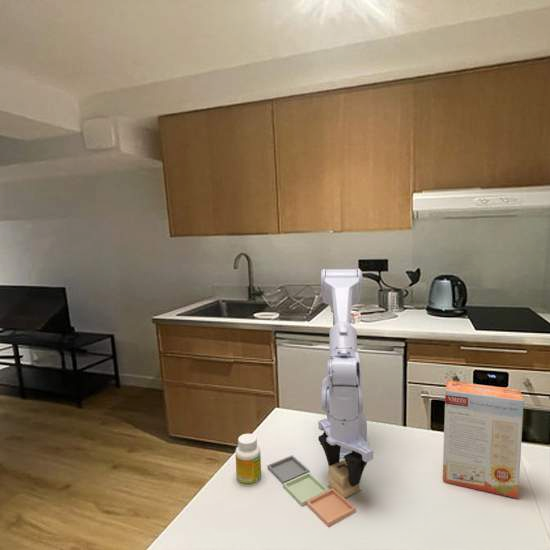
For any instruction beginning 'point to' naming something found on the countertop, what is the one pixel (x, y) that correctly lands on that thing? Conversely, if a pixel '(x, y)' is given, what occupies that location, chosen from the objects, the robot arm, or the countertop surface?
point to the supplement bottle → (248, 461)
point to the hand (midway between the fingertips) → (344, 475)
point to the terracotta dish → (331, 507)
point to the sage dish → (304, 488)
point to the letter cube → (341, 479)
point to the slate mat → (350, 495)
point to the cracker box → (483, 437)
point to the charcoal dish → (287, 469)
